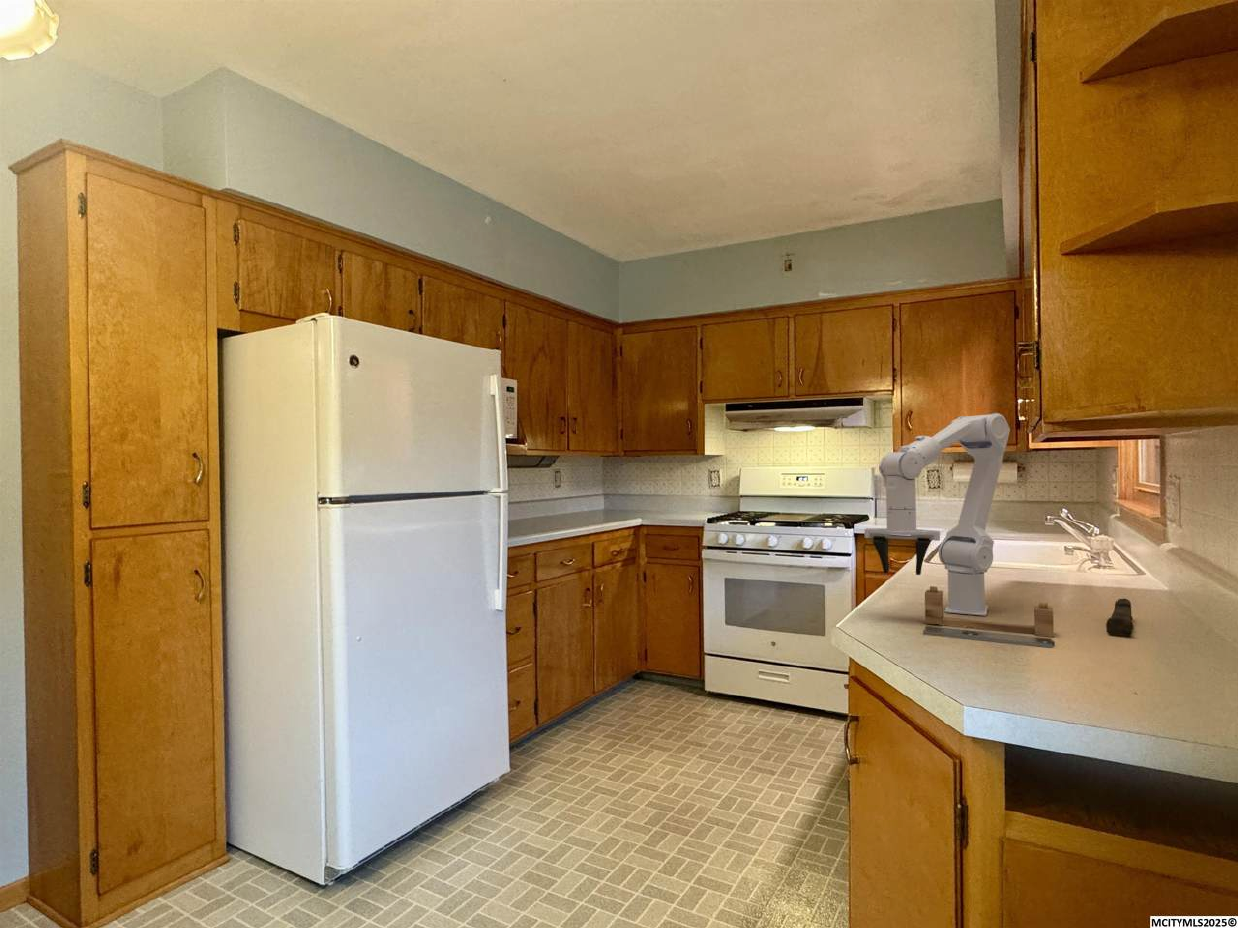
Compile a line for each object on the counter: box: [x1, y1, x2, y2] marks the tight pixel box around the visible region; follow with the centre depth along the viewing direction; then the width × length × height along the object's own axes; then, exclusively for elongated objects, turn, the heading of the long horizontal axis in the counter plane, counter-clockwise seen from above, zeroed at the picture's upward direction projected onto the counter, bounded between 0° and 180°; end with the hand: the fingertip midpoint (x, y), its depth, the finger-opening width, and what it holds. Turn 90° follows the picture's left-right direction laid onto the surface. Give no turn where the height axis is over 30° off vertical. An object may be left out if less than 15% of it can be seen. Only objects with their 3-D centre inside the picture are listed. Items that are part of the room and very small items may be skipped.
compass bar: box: [942, 601, 1055, 638], centre depth 131 cm, size 4×22×6 cm, turn 59°
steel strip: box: [922, 625, 1056, 649], centre depth 124 cm, size 4×21×1 cm, turn 59°
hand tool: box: [1105, 598, 1134, 639], centre depth 130 cm, size 19×4×5 cm, turn 138°
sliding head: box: [924, 585, 944, 626], centre depth 136 cm, size 4×3×7 cm
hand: (902, 573), depth 139 cm, fingers open, 6 cm apart
